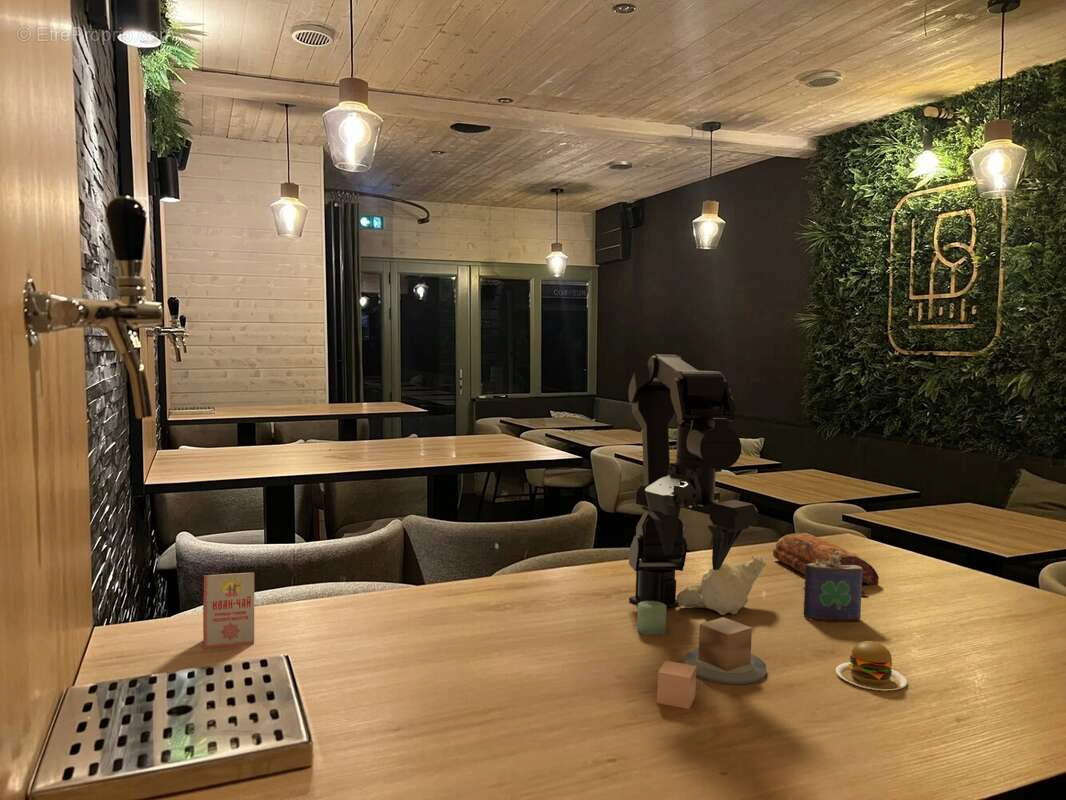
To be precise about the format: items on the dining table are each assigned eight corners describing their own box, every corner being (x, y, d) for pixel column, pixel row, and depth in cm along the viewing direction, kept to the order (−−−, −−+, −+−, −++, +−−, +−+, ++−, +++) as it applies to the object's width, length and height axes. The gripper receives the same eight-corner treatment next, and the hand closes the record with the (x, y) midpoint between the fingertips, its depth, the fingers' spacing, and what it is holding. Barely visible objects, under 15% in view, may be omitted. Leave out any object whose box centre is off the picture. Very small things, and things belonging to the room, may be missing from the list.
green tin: (631, 629, 124) (632, 604, 124) (651, 623, 127) (651, 599, 126) (651, 637, 120) (652, 611, 120) (671, 631, 123) (672, 606, 123)
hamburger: (870, 709, 99) (872, 666, 99) (804, 671, 111) (806, 633, 110) (940, 695, 104) (943, 654, 104) (870, 660, 115) (872, 623, 115)
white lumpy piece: (688, 635, 127) (766, 585, 124) (665, 595, 131) (740, 545, 127) (716, 636, 140) (787, 590, 136) (694, 599, 144) (763, 554, 140)
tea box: (205, 639, 116) (205, 572, 115) (254, 635, 118) (254, 569, 117) (203, 648, 112) (203, 579, 111) (254, 644, 114) (254, 576, 114)
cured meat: (813, 600, 141) (816, 562, 141) (752, 562, 166) (754, 530, 165) (905, 599, 144) (908, 562, 144) (831, 562, 169) (834, 530, 168)
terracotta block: (657, 703, 98) (658, 672, 98) (664, 690, 102) (665, 660, 102) (689, 709, 97) (690, 677, 97) (695, 696, 101) (696, 665, 100)
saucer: (667, 663, 111) (667, 656, 111) (719, 646, 117) (719, 640, 117) (730, 691, 102) (731, 684, 102) (782, 671, 109) (782, 665, 109)
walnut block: (698, 659, 110) (699, 623, 110) (721, 651, 113) (723, 617, 113) (726, 671, 106) (728, 635, 106) (750, 663, 109) (752, 627, 109)
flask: (857, 617, 132) (860, 553, 131) (863, 623, 129) (867, 558, 128) (801, 615, 132) (804, 552, 132) (806, 621, 129) (809, 556, 129)
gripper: (611, 452, 118) (607, 554, 119) (710, 472, 103) (704, 589, 104) (663, 446, 124) (659, 544, 126) (762, 465, 110) (757, 574, 111)
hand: (691, 561), depth 117 cm, fingers open, 9 cm apart
